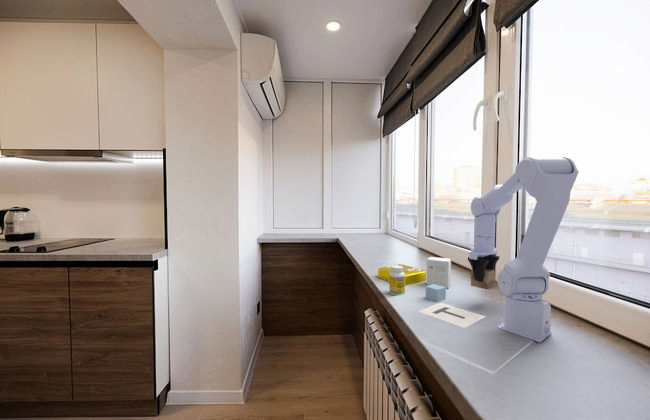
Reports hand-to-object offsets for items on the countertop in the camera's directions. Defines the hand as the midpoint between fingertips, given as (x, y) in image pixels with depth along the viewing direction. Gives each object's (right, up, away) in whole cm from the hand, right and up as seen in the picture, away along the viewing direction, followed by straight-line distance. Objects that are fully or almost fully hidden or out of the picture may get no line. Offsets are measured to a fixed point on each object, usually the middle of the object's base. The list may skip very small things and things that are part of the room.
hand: (483, 279), depth 93 cm
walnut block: (0, -2, 0) cm, 2 cm away
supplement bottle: (-24, -8, +12) cm, 28 cm away
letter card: (-13, -9, -7) cm, 17 cm away
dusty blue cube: (-13, -8, +6) cm, 16 cm away
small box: (-6, -8, +21) cm, 23 cm away
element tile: (-18, -8, +31) cm, 36 cm away
